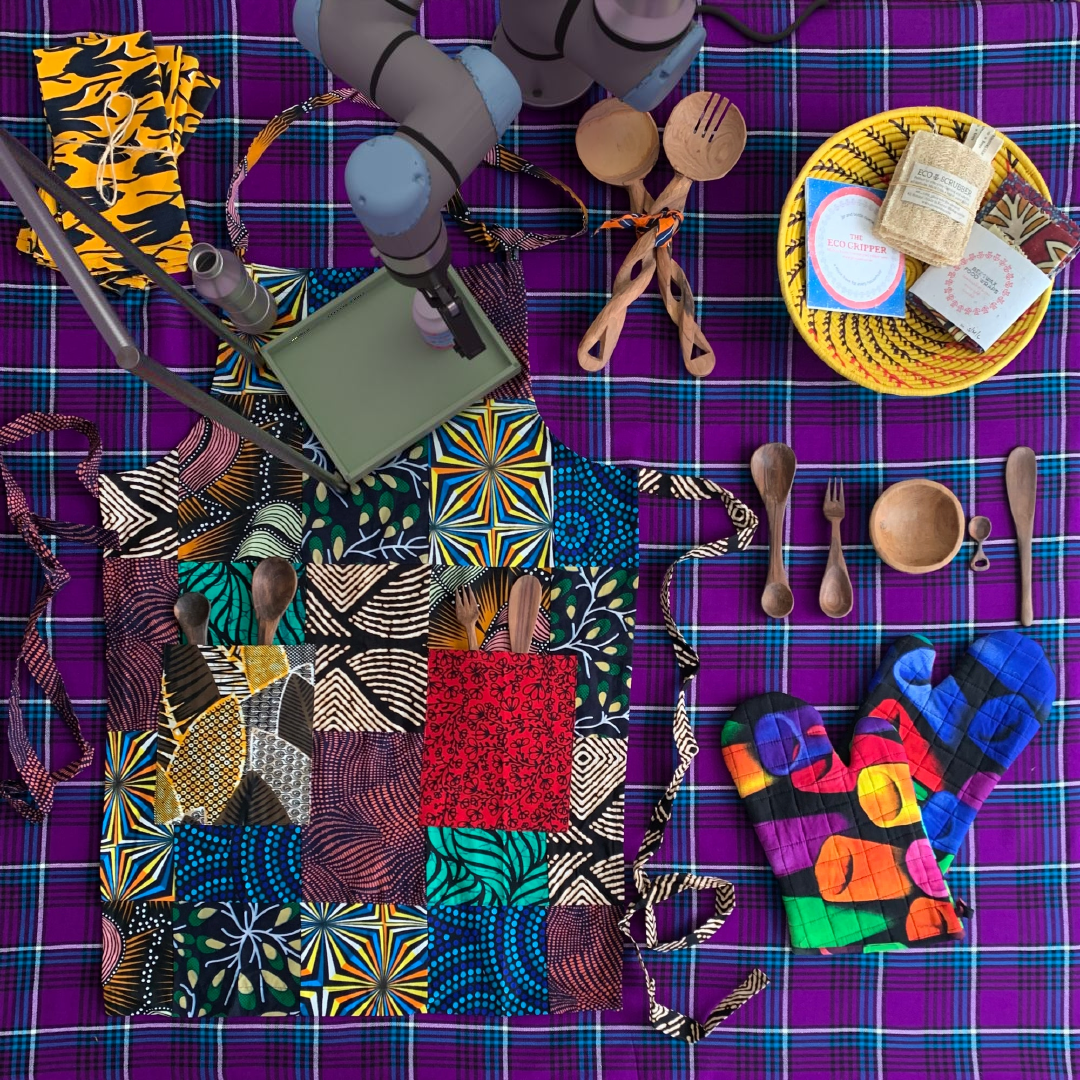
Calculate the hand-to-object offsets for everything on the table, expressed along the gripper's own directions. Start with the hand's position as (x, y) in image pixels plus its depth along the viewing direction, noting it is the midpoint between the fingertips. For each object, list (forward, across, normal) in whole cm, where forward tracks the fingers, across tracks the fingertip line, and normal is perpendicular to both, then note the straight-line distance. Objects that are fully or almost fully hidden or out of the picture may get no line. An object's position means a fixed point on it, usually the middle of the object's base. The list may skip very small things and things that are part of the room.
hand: (439, 307), depth 116 cm
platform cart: (+8, 0, -10) cm, 13 cm away
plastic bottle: (+8, -16, -21) cm, 27 cm away
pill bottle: (+8, 0, -1) cm, 8 cm away
